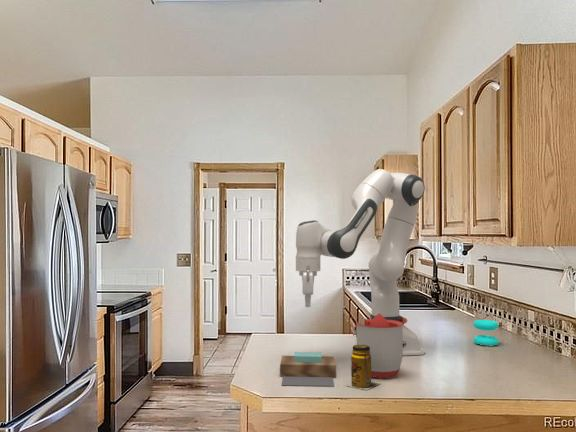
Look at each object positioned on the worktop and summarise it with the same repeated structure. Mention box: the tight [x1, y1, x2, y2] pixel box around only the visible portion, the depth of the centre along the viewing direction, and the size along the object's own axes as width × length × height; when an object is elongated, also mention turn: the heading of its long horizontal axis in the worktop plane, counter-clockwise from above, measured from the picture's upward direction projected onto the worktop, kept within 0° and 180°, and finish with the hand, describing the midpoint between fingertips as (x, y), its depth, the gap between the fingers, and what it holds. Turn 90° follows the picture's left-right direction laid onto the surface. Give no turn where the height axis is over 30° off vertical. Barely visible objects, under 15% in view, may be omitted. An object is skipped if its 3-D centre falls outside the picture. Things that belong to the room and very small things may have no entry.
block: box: [293, 351, 323, 363], centre depth 164 cm, size 9×6×2 cm, turn 87°
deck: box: [279, 355, 337, 379], centre depth 164 cm, size 18×12×4 cm, turn 88°
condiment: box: [345, 344, 381, 391], centre depth 150 cm, size 7×8×12 cm
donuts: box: [472, 319, 499, 346], centre depth 210 cm, size 10×10×10 cm
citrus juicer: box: [352, 313, 403, 380], centre depth 163 cm, size 16×17×20 cm
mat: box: [281, 377, 335, 388], centre depth 153 cm, size 16×9×1 cm, turn 88°
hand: (307, 305), depth 174 cm, fingers open, 8 cm apart
